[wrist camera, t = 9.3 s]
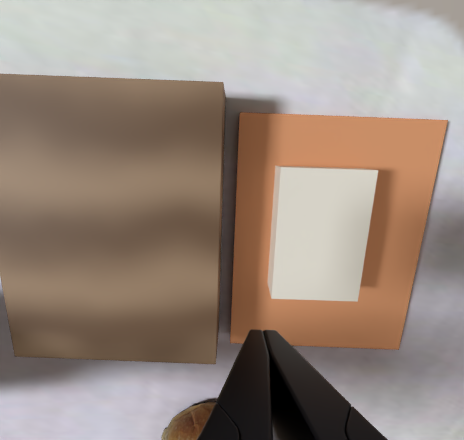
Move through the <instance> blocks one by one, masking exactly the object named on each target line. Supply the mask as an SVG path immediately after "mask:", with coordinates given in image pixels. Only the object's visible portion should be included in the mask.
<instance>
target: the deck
mask: <svg viewBox="0 0 464 440" xmlns="http://www.w3.org/2000/svg"><path fill="white" fill-rule="evenodd" d="M225 100H226V97H225V90H224V84H223V82H203V81H177V80H151V79H125V78H99V77H72V76H46V75H20V74H0V277H1V282H2V288H3V293H4V299H5V305H6V310H7V316H8V321H9V327H10V332H11V338H12V343H13V349H14V354H15V356H16V357H42V358H68V359H94V360H120V361H145V362H171V363H197V364H216V354H217V343H218V332H219V306H220V271H221V237H222V203H223V169H224V135H225Z"/></svg>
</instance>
